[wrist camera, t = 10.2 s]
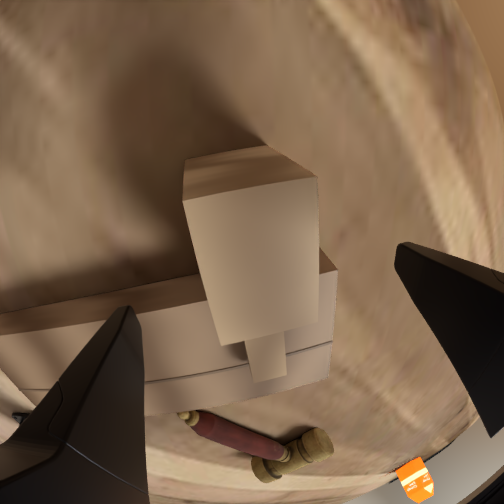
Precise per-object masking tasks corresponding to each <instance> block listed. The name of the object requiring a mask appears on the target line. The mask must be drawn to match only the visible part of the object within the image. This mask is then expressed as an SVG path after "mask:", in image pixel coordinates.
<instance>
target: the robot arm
mask: <svg viewBox="0 0 504 504" xmlns="http://www.w3.org/2000/svg"><path fill="white" fill-rule="evenodd" d="M394 267H395V270H396V272H397V274H398V276H399V277H400V279H401V281H402V283H403V284H404V286H405V288H406V290H407V291H408V293H409V295H410V297H411V299H412V300H413V302H414V304H415V305H416V307H417V308H418V310H419V311H420V313H421V314H422V316H423V317H424V319H425V321H426V322H427V324H428V325H429V327H430V328H431V330H432V331H433V333H434V335H435V336H436V338H437V339H438V341H439V343H440V344H441V346H442V348H443V349H444V351H445V353H446V354H447V356H448V358H449V359H450V361H451V363H452V364H453V366H454V368H455V370H456V371H457V373H458V375H459V377H460V379H461V380H462V382H463V384H464V386H465V388H466V390H467V392H468V394H469V396H470V398H471V400H472V402H473V404H474V405H475V407H476V409H477V412H478V414H479V416H480V418H481V420H482V422H483V424H484V426H485V428H486V430H487V432H488V435H489V436H490V438H492V437H493V436H494V435H495V434H497V433H498V432H499V431H500V430H501V429H502V428H503V427H504V273H502V272H499V271H496V270H493V269H490V268H487V267H485V266H482V265H479V264H476V263H473V262H470V261H467V260H464V259H461V258H458V257H455V256H452V255H449V254H446V253H443V252H440V251H437V250H434V249H430V248H427V247H424V246H421V245H418V244H414V243H411V242H404V243H400V244H398V246H397V249H396V256H395V262H394ZM144 390H145V368H144V355H143V341H142V328H141V325H140V322H139V320H138V318H137V316H136V314H135V312H134V310H133V308H132V306H131V305H124V306H119V307H118V308H117V309H116V310H115V311H114V312H113V313H112V314H111V316H110V317H109V318H108V319H107V320H106V321H105V323H104V324H103V325H102V326H101V327H100V328H99V330H98V331H97V332H96V333H95V334H94V335H93V337H92V338H91V339H90V340H89V341H88V343H87V344H86V345H85V346H84V348H83V349H82V350H81V351H80V352H79V354H78V355H77V356H76V357H75V359H74V360H73V361H72V362H71V364H70V365H69V366H68V367H67V369H66V370H65V371H64V372H63V374H62V375H61V376H60V377H59V379H58V381H56V383H55V384H54V385H53V386H52V388H51V389H50V390H49V392H48V393H47V394H46V395H45V397H44V398H43V399H42V400H41V402H40V403H39V404H38V405H37V406H36V408H35V409H34V410H33V411H32V412H31V413H30V414H21V413H12V417H13V418H14V419H15V420H16V421H17V422H18V423H20V424H19V427H18V428H17V430H16V431H15V432H14V433H13V434H12V436H11V437H10V438H9V439H8V440H6V441H5V442H4V443H2V444H0V504H150V502H149V495H148V483H147V469H146V452H145V421H144ZM457 504H504V465H503V466H502V467H501V468H500V469H499V470H498V471H497V472H496V473H495V474H494V475H493V476H491V477H490V478H489V479H488V480H487V481H486V482H485V483H483V484H482V485H481V486H480V487H478V488H477V489H476V490H475V491H473V492H472V493H471V494H470V495H468V496H467V497H466V498H464V499H463V500H462V501H460V502H459V503H457Z"/></svg>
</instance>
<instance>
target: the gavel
mask: <svg viewBox="0 0 504 504" xmlns="http://www.w3.org/2000/svg"><path fill="white" fill-rule="evenodd" d="M177 414H178V416H179V417H180V418H181V419H184V420H185V423H186V424H187V425H189V426H190V427H191V428H192V429H193V430H194V431H195V432H196V433H197V434H198V435H200V436H202V437H205V438H207V439H210V440H212V441H215V442H217V443H220V444H223V445H225V446H228V447H231V448H234V449H237V450H239V451H242V452H245V453H248V454H252V455H255V456H254V457H253V458H252V461H251V466H252V470H253V472H254V474H255V476H256V477H257V478H258V479H259V480H260V481H262V482H263V483H269V482H272V481H275V480H277V479H280V478H281V477H282V474H287V473H290V472H292V471H294V470H297V469H299V468H302V467H304V466H306V465H308V464H311V463H312V462H313V461H314V460H315V461H317V462H320V461H322V460H324V459H326V458H328V457H330V456H332V455H333V453H334V448H333V444H332V442H331V440H330V438H329V436H328V435H327V433H326V432H325V431H324V430H322V429H320V428H314V429H312V430H310V431H308V432H306V433H304V434H303V435H302V438H301V439H299V438H298V439H296V440H294V441H292V442H290V443H288V444H286V445H284V446H283V445H280V444H279V443H278V442H276V441H274V440H271V439H268V438H266V437H263V436H261V435H259V434H256V433H254V432H251V431H249V430H247V429H244V428H242V427H240V426H237V425H235V424H233V423H231V422H229V421H226V420H224V419H222V418H220V417H218V416H216V415H214V414H212V413H205V412H198V411H195V410H191V411H185V412H178V413H177Z"/></svg>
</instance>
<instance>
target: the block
mask: <svg viewBox="0 0 504 504" xmlns="http://www.w3.org/2000/svg"><path fill="white" fill-rule="evenodd" d="M183 205H184V210H185V214H186V218H187V222H188V227H189V231H190V235H191V239H192V243H193V247H194V251H195V255H196V259H197V262H198V266H199V270H200V274H201V278H202V281H203V285H204V289H205V292H206V296H207V300H208V303H209V307H210V310H211V314H212V317H213V321H214V324H215V327H216V331H217V334H218V337H219V341H220V344H221V346H223V345H228V344H232V343H237V342H241V341H244V344H245V349H246V353H247V358H248V362H249V367H250V371H251V375H252V379H253V382H254V383H257V382H262V381H266V380H270V379H274V378H277V377H281V376H285V375H287V370H286V354H285V340H284V331H287V330H290V329H294V328H298V327H302V326H305V325H309V324H312V323H316V322H318V303H319V211H318V182H317V176H316V175H314V174H313V173H311V172H310V171H308V170H307V169H305V168H303V167H302V166H300V165H299V164H297V163H296V162H294V161H292V160H291V159H289V158H288V157H286V156H284V155H283V154H281V153H279V152H278V151H276V150H274V149H273V148H271V147H269V146H268V145H265V146H258V147H251V148H245V149H239V150H233V151H227V152H222V153H216V154H211V155H206V156H201V157H196V158H191V159H186V160H185V162H184V179H183Z"/></svg>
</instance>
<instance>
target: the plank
mask: <svg viewBox="0 0 504 504" xmlns="http://www.w3.org/2000/svg"><path fill="white" fill-rule="evenodd" d="M337 276H338V269H337V268H336V267H335V266H334V264H333V263H332V262H331V261H330V259H329V258H328V257H327V256H326V254H325V253H324V252H323V251H322V250H321V248H320V247H319V303H318V322H316V323H312V324H309V325H305V326H302V327H298V328H294V329H290V330H287V331H284V340H285V354H286V370H287V375H285V376H281V377H277V378H274V379H270V380H266V381H262V382H257V383H254V382H253V379H252V375H251V371H250V367H249V362H248V358H247V353H246V349H245V344H244V341H241V342H237V343H232V344H228V345H223V346H221V344H220V341H219V337H218V334H217V331H216V327H215V324H214V321H213V317H212V314H211V310H210V307H209V303H208V300H207V296H206V292H205V289H204V285H203V281H202V278H201V274H200V273H199V274H194V275H190V276H185V277H180V278H175V279H171V280H166V281H161V282H156V283H152V284H147V285H142V286H137V287H132V288H127V289H123V290H118V291H113V292H108V293H103V294H98V295H93V296H88V297H83V298H78V299H73V300H68V301H63V302H58V303H53V304H48V305H43V306H38V307H33V308H28V309H23V310H18V311H12V312H7V313H2V314H0V368H1V370H2V371H3V372H4V373H5V374H6V375H7V377H8V378H9V379H10V380H11V381H12V382H13V383H14V384H15V385H16V387H17V388H18V389H19V390H20V391H21V392H22V393H23V394H24V395H25V396H26V397H27V398H28V399H29V400H30V401H31V402H32V403H33V404H34V405H35V406H37V405H38V404H39V403H40V402H41V400H42V399H43V398H44V397H45V395H46V394H47V393H48V392H49V390H50V389H51V388H52V386H53V385H54V384H55V383H56V381H58V379H59V377H60V376H61V375H62V374H63V372H64V371H65V370H66V369H67V367H68V366H69V365H70V364H71V362H72V361H73V360H74V359H75V357H76V356H77V355H78V354H79V352H80V351H81V350H82V349H83V348H84V346H85V345H86V344H87V343H88V341H89V340H90V339H91V338H92V337H93V335H94V334H95V333H96V332H97V331H98V330H99V328H100V327H101V326H102V325H103V324H104V323H105V321H106V320H107V319H108V318H109V317H110V316H111V314H112V313H113V312H114V311H115V310H116V309H117V308H118V307H119V306H124V305H131V306H132V308H133V310H134V312H135V314H136V316H137V318H138V320H139V322H140V325H141V328H142V341H143V355H144V368H145V390H144V416H152V415H161V414H170V413H177V412H185V411H191V410H198V409H204V408H210V407H215V406H221V405H226V404H231V403H236V402H241V401H245V400H250V399H254V398H258V397H263V396H267V395H271V394H275V393H278V392H282V391H286V390H290V389H293V388H297V387H300V386H303V385H307V384H310V383H313V382H317V381H320V380H323V379H326V378H328V374H329V366H330V358H331V349H332V343H333V341H332V340H333V330H334V319H335V307H336V293H337Z"/></svg>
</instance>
